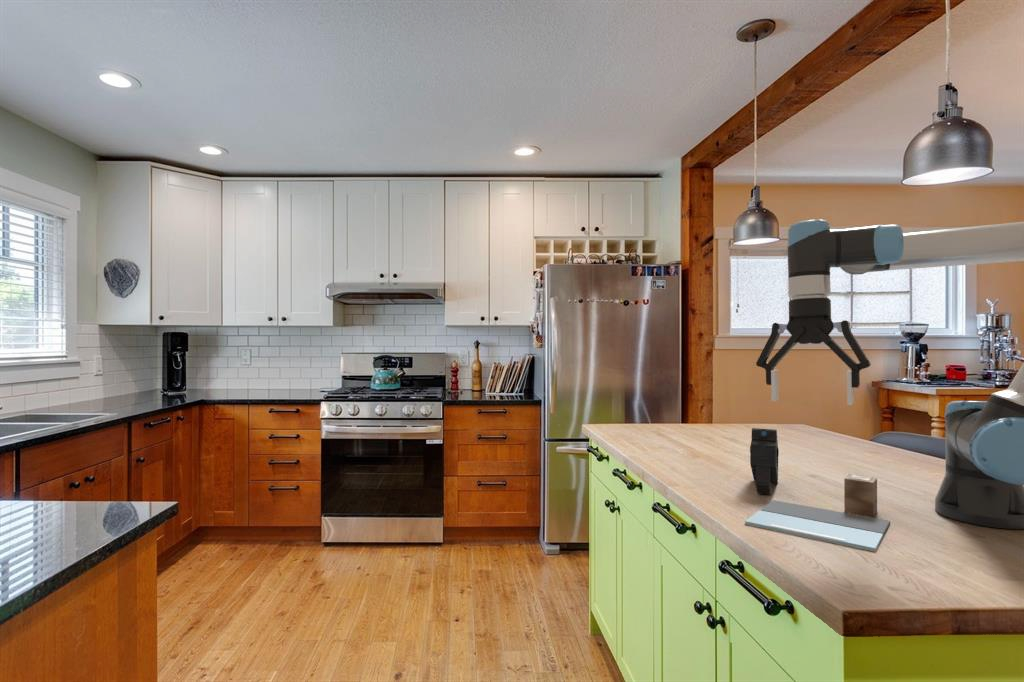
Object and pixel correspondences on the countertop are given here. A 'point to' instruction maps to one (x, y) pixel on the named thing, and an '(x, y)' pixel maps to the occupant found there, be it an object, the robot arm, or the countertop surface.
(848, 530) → the mat
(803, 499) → the countertop surface
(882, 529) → the mat
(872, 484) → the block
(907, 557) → the countertop surface
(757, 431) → the tool
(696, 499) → the countertop surface
